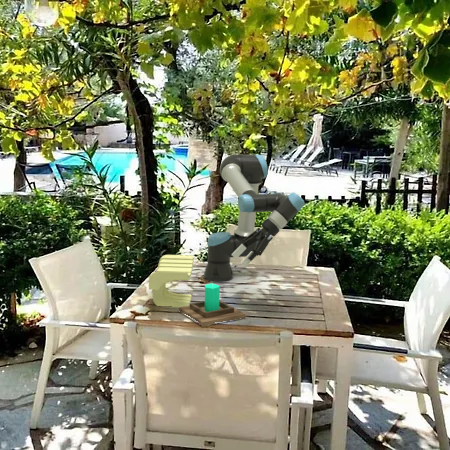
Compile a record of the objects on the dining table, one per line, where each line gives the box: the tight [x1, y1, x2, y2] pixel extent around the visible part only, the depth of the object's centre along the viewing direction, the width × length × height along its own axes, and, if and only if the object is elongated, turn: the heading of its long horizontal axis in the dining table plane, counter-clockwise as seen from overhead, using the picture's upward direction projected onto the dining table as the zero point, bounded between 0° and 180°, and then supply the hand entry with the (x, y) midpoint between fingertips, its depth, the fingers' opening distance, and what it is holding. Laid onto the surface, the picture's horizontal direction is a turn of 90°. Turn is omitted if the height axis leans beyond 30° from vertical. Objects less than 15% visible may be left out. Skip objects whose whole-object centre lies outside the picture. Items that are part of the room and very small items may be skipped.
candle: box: [204, 281, 221, 312], centre depth 210 cm, size 6×6×12 cm
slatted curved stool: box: [148, 254, 195, 308], centre depth 225 cm, size 30×16×18 cm, turn 179°
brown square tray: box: [178, 299, 246, 328], centre depth 211 cm, size 20×20×4 cm
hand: (238, 261), depth 210 cm, fingers open, 13 cm apart
